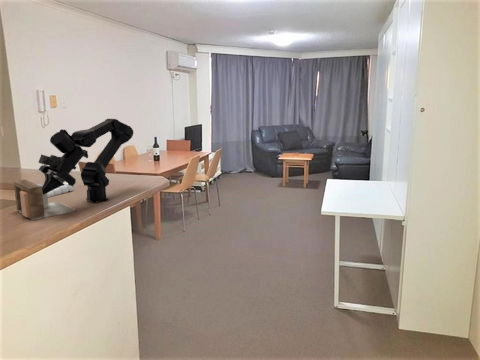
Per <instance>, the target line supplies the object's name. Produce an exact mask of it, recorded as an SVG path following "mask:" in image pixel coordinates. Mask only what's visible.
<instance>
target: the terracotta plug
mask: <svg viewBox="0 0 480 360" xmlns="http://www.w3.org/2000/svg"><path fill="white" fill-rule="evenodd" d="M42 195H43V192H42ZM20 198H21V207H22V216H23V217H25V218H28V217H31V214H30V205H29V196H28V192H27V191H20ZM43 205H44V202H43ZM44 214H45V211H44Z"/></svg>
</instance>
